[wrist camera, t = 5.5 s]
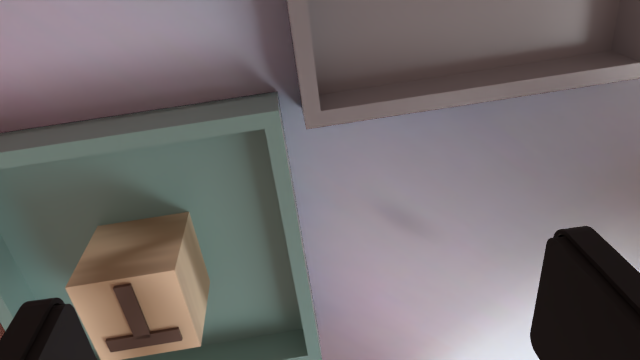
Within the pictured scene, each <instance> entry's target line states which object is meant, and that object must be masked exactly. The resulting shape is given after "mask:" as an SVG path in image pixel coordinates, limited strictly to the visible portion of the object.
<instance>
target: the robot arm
mask: <svg viewBox="0 0 640 360" xmlns="http://www.w3.org/2000/svg"><path fill="white" fill-rule="evenodd" d="M530 338H531V343H532V346H533V349H534V351H535V353H536V354H537V356H538V358H539V359H540V360H640V273H639V272H638V271H637V270H636V269H635V268H634V267H633V266H632V265H631V264H630V263H628V262H627V261H626V260H625V259H624V258H623V257H622V256H621V255H620V254H619V253H618V252H617V251H616V250H615V249H614V248H613V247H612V246H611V245H610V244H609V243H607V242H606V241H605V240H604V239H603V238H602V237H601V236H600V235H599V234H598V233H597V232H596V231H595V230H594V229H592V228H591V227H588V226H583V227H575V228H568V229H560V230H558V231H557V232H556V233H555V234H554V237H553V238H550V239H549V240H548V241H547V244H546V249H545V255H544V260H543V266H542V271H541V277H540V282H539V288H538V293H537V299H536V304H535V310H534V315H533V321H532V326H531V332H530ZM0 360H97V358H96V356H95V354H94V352H93V349H92V347H91V345H90V342H89V340H88V338H87V336H86V333H85V331H84V329H83V327H82V324H81V322H80V320H79V318H78V315H77V313H76V311H75V309H74V307H73V306H72V305H71V304H65V303H64V302H63V300H62V299H60V298H48V299H41V300H33V301H27V302H25V303H23V304H22V305H21V307H20V308H19V310H18V311H17V313H16V315H15V316H14V318H13V320H12V321H11V323H10V325H9V326H8V328H7V330H6V331H5V333H4V335H3V336H2V338H1V340H0Z"/></svg>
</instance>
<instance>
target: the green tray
mask: <svg viewBox="0 0 640 360" xmlns="http://www.w3.org/2000/svg"><path fill="white" fill-rule="evenodd" d="M184 212H189V213H190V216H191V219H192V223H193V226H194V229H195V233H196V236H197V239H198V243H199V246H200V249H201V253H202V256H203V259H204V263H205V266H206V269H207V273H208V276H209V279H210V286H209V293H208V300H207V307H206V314H205V321H204V328H203V335H202V342H201V347H195V348H189V349H183V350H177V351H171V352H165V353H159V354H152V355H146V356H140V357H134V358H128V359H122V360H322V357H321V349H320V342H319V334H318V327H317V321H316V315H315V310H314V304H313V298H312V292H311V286H310V280H309V274H308V269H307V263H306V257H305V251H304V245H303V239H302V233H301V228H300V222H299V216H298V210H297V204H296V198H295V192H294V187H293V181H292V175H291V169H290V163H289V157H288V151H287V146H286V140H285V134H284V128H283V122H282V116H281V110H280V105H279V99H278V93H277V92H271V93H265V94H258V95H251V96H245V97H238V98H231V99H225V100H218V101H211V102H205V103H198V104H191V105H185V106H178V107H171V108H165V109H158V110H151V111H145V112H138V113H131V114H125V115H118V116H111V117H105V118H98V119H91V120H85V121H78V122H71V123H65V124H58V125H51V126H45V127H38V128H31V129H25V130H18V131H11V132H5V133H0V323H1V325H2V326H3V328H4V330H5V331H6V330H7V328H8V326H9V325H10V323H11V321H12V320H13V318H14V316H15V315H16V313H17V311H18V310H19V308H20V307H21V305H22V304H23V303H25V302H27V301H33V300H41V299H48V298H60V299H62V300H63V302H64V303H65V304H71V305H72V306H73V307H74V305H73V303H72V301H71V299H70V297H69V295H68V293H67V291H66V289H65V287H66V285H67V283H68V281H69V279H70V277H71V276H72V274H73V272H74V270H75V268H76V266H77V264H78V262H79V260H80V258H81V257H82V255H83V253H84V251H85V249H86V247H87V245H88V243H89V241H90V240H91V238H92V236H93V234H94V232H95V230H96V228H97V226H101V225H108V224H114V223H120V222H127V221H133V220H139V219H146V218H152V217H159V216H165V215H171V214H178V213H184ZM74 309H75V307H74ZM75 311H76V309H75ZM76 313H77V311H76ZM77 315H78V313H77ZM78 318H79V320H80V322H81V324H82V327H83V329H84V331H85V333H86V336H87V338H88V340H89V342H90V345H91V347H92V349H93V352H94V354H95V356H96V358H97V360H101V359H100V357H99V355H98V353H97V351H96V349H95V347H94V345H93V343H92V341H91V339H90V337H89V335H88V333H87V331H86V329H85V327H84V325H83V323H82V321H81V319H80V317H79V315H78Z"/></svg>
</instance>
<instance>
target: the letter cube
mask: <svg viewBox="0 0 640 360" xmlns="http://www.w3.org/2000/svg"><path fill="white" fill-rule="evenodd" d="M209 286H210V279H209V276H208V273H207V269H206V266H205V263H204V259H203V256H202V253H201V249H200V246H199V243H198V239H197V236H196V233H195V229H194V226H193V223H192V219H191V216H190V213H189V212H184V213H178V214H171V215H165V216H159V217H152V218H146V219H139V220H133V221H127V222H120V223H114V224H108V225H101V226H97V228H96V230H95V232H94V234H93V236H92V238H91V240H90V241H89V243H88V245H87V247H86V249H85V251H84V253H83V255H82V257H81V258H80V260H79V262H78V264H77V266H76V268H75V270H74V272H73V274H72V276H71V277H70V279H69V281H68V283H67V285H66V287H65V289H66V291H67V293H68V295H69V297H70V299H71V301H72V303H73V305H74V307H75V309H76V311H77V313H78V315H79V317H80V319H81V321H82V323H83V325H84V327H85V329H86V331H87V333H88V335H89V337H90V339H91V341H92V343H93V345H94V347H95V349H96V351H97V353H98V355H99V357H100V359H101V360H122V359H128V358H134V357H140V356H146V355H152V354H159V353H165V352H171V351H177V350H183V349H189V348H195V347H201V342H202V335H203V328H204V321H205V314H206V307H207V300H208V293H209Z"/></svg>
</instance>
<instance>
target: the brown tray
mask: <svg viewBox="0 0 640 360" xmlns="http://www.w3.org/2000/svg"><path fill="white" fill-rule="evenodd" d="M286 2H287V8H288V15H289V22H290V29H291V36H292V42H293V49H294V56H295V63H296V70H297V76H298V83H299V90H300V97H301V104H302V110H303V115H304V120H305V125H306V129H311V128H318V127H325V126H331V125H338V124H344V123H351V122H357V121H364V120H370V119H377V118H383V117H390V116H397V115H403V114H410V113H416V112H423V111H429V110H436V109H442V108H449V107H455V106H462V105H469V104H475V103H482V102H488V101H495V100H501V99H508V98H514V97H521V96H528V95H534V94H541V93H547V92H554V91H560V90H567V89H573V88H580V87H586V86H593V85H600V84H606V83H613V82H619V81H626V80H632V79H639V78H640V0H286Z"/></svg>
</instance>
